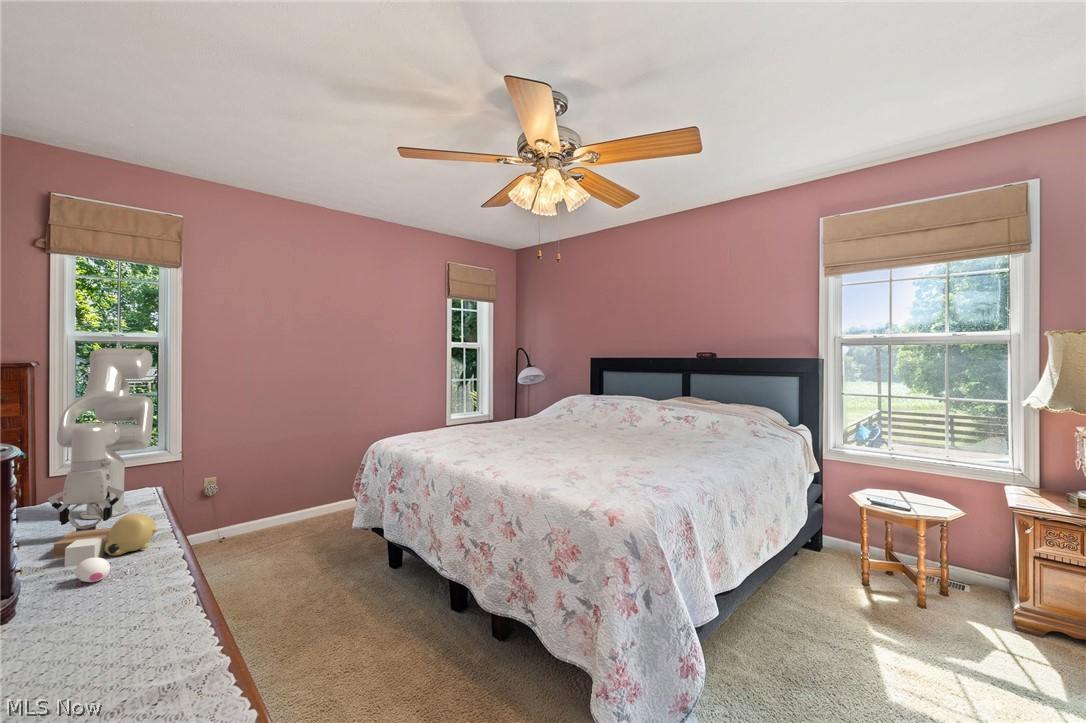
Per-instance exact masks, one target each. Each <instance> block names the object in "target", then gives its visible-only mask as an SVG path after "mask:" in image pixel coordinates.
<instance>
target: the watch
mask: <svg viewBox="0 0 1086 723" xmlns="http://www.w3.org/2000/svg"><path fill="white" fill-rule="evenodd" d="M87 504H89V505H90V507H91V509H92V510H93V511H94V513H95V514H96V515H98V516H100V519H97V520H96V521H95V522H94V523H91V524H85V525H79V523H78V522H77V521H76V520H75V519H74V518H73V514H72V512H73V511H74V510H75V509H76V508H78V507H81V506H83V505H85V504H75V505H73V507H71V509H69V510H70V512H69V516H68V519H69V524H71V525H72V526H73V527H74V528H75V531H85V530H95V529H97V525H98V524H99V523H100V522H102V521H103V509H102V507H101V506H100V505H99V504H98V503H87ZM87 504H86V505H87Z"/></svg>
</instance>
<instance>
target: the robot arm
mask: <svg viewBox="0 0 1086 723" xmlns="http://www.w3.org/2000/svg"><path fill="white" fill-rule="evenodd" d="M89 364H90V368H89V371H88V372H89V374H88V378H87V384H86V387H85V394H84V395H81V396H80V397H79V398H77V399H75V400H74V401H73V402H72V403H70V405H68V407H66V409H64V411H63V412H62V414H61V416H60V420H59V424H58V428H57V433H56V440H57V444H58V445H59V446H60V447H62V448H67V449H68V448H71V450H70V452H71V456H70V470H69V471H68V472H67V474H66V477H65V481H64V485H63V491H60V492H58V493H56V494H54V495H51V496H49V497H48V498H47V501H48V502H49V504H50V505H51V507H52V508H54V509H56V511H57V512H58V513H59V514H58V515H59V517H58V521H59V522H60V525H61V526H64V525H66V524H68V523H70V521H69V519H68V516H69V512H70V510H71V509H70V508H69V507H70V506H72V505H73V506H75V505H77V504H84V505H86V510H84V511H82V512H81V513H80V514H79V517H80V518H81V519H82V520H99V519H100V516H98V515H96V514H95V513H94V511H93V510H92V509H91V507H90V505H89V504H87V503H98V504H99V505H100V506H101V507H102V509H103V518H102V521H104V522H107V521H109V519H111V518H112V517H116V516H121V515H123V514H125V513H127V512H129V510H130V506H128V505H126V504H124V502H125V501H124V499H125V468H126V466H125V460H124V459H123V457H122V456H120V455H119V454H118V453H117V452H121V451H122V452H123V451H139V450H144V449H146V448H148V447H149V446H150V444H151V442H152V435H153V434H152V432H153V423H154V422H153V420H154V403H153V400H152V399H151V398H150V397H148V396H145V395H130V388H131V386H130V383H129V382H128V380H142V379H144V378H145V377H146V376H147V374H148V373H149V371H150V369H151V368H152V365H153V355H152V352H151V351H149V350H148V349H144V348H143V349H142V348H115V347H113V348H112V347H111V348H110V347H105V348H104V347H103V348H98V349H94V350H91V352H90V353H89ZM94 409H95V410H94ZM92 410H94V415H95V416H94V417H95V418H96V420H97V421H98V422H85V423H83V422H81V423H79V422H78V423H75V421H76V420H77V418H78V417H80V416H82V415H83V414H85V413H86V412H90V411H92ZM61 497H62V503H61V502H60V501H59V500H58V499H59V498H61Z"/></svg>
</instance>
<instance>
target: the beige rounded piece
mask: <svg viewBox="0 0 1086 723" xmlns="http://www.w3.org/2000/svg"><path fill="white" fill-rule="evenodd" d="M110 528H111V530H110V532H109V536H108V541H106V544H105V546H104V549H105V550H104V552H105V553H106V554H108V555H109V556H114V557H115V556H118V557H119V556H122V555H123V554H125V553H129V552H135V551H138V550H141V549H142V550H147V549H148V548H149V543H150V542H151V541H152V539H153V537H154V535H155V533H157V532H158V531H159V528H158V527H157V526H156V522H155V521H154V519H153V518H152V517H151V516H149V515H147V514H144V513H130V514H127V515H124V516H122V517H121V518H118V520H117V521H116V522H115V523H114V524H113V525H112V527H110Z"/></svg>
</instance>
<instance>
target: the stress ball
mask: <svg viewBox="0 0 1086 723" xmlns="http://www.w3.org/2000/svg"><path fill="white" fill-rule="evenodd" d="M110 564H111V563H109V561H108V560H106V559H105V558H103V557H100V558H98V557H93V558H88V559H85V560H83V561H82V562H80V563H79V564H78V565H76V567H75V570H74V574H75V576H76V578H77V579H78V580H80V581H81V582H80V583H79V584H78V586H80V587H81V586H82V583H83V582H85V583H94V582H99V581H101V580H103V579H104V578H105V577H107V576H108V575H110V574H112V573H110V570H111V565H110Z"/></svg>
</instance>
